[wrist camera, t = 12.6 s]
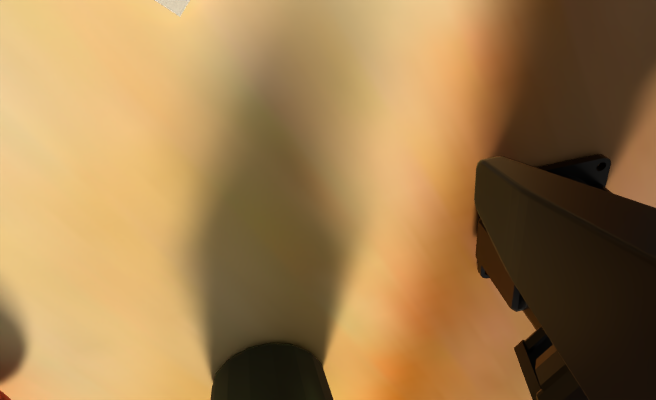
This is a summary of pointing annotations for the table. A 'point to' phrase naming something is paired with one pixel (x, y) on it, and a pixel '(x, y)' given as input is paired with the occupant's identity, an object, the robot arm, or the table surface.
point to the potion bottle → (271, 375)
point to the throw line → (174, 5)
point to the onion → (3, 396)
